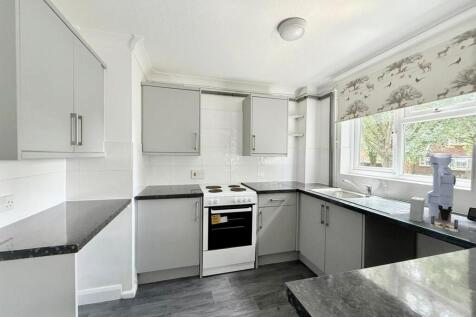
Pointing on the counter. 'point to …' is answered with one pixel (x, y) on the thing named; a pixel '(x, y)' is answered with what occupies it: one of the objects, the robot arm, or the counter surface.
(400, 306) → the counter surface
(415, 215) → the skincare box
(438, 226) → the board
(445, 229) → the peg
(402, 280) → the counter surface
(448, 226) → the wire gate
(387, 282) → the counter surface
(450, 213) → the brown small block
